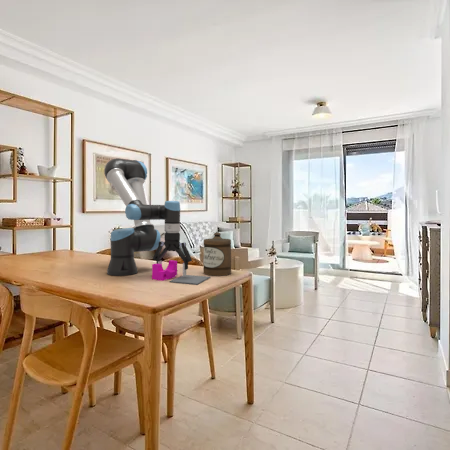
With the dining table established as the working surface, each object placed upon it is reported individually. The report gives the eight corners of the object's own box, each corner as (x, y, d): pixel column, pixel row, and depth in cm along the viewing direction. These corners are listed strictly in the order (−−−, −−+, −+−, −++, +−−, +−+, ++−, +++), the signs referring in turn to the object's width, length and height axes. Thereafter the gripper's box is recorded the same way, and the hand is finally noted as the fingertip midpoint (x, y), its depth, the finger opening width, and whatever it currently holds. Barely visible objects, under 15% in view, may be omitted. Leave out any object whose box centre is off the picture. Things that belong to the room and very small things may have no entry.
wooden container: (197, 273, 172) (198, 232, 171) (214, 269, 185) (214, 230, 184) (220, 277, 164) (221, 233, 163) (236, 272, 176) (237, 232, 175)
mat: (169, 282, 151) (169, 281, 151) (184, 275, 166) (184, 274, 166) (197, 284, 146) (197, 283, 146) (210, 278, 162) (210, 276, 162)
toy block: (162, 281, 154) (162, 265, 154) (152, 279, 157) (152, 264, 157) (181, 275, 167) (181, 261, 167) (171, 274, 170) (171, 260, 170)
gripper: (146, 231, 161) (146, 274, 162) (192, 233, 153) (191, 278, 154) (154, 230, 168) (153, 271, 169) (198, 232, 160) (198, 275, 161)
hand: (172, 275), depth 162 cm, fingers open, 13 cm apart
